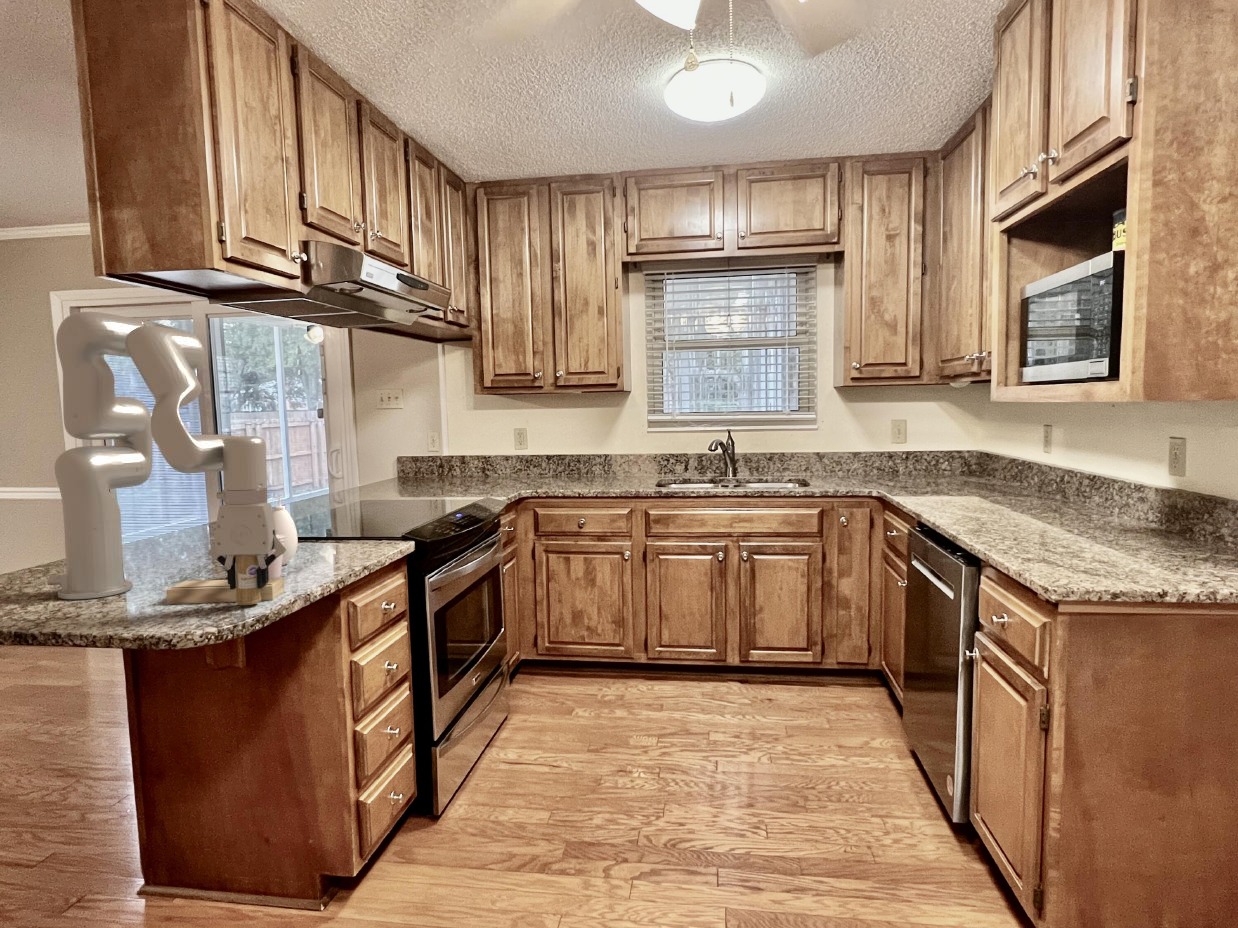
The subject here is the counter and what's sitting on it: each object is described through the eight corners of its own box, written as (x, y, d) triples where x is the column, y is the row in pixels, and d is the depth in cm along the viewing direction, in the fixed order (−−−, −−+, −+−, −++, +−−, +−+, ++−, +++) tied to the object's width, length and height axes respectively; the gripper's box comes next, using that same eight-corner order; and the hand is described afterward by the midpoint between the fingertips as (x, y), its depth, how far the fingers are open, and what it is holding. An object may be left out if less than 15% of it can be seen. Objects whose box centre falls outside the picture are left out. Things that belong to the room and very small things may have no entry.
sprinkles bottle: (246, 606, 128) (244, 539, 127) (230, 604, 130) (228, 538, 129) (267, 600, 133) (265, 535, 132) (250, 598, 134) (249, 534, 133)
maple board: (166, 604, 132) (166, 589, 131) (183, 594, 139) (183, 580, 138) (272, 600, 135) (272, 585, 135) (284, 591, 142) (283, 577, 142)
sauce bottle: (262, 569, 163) (260, 498, 162) (265, 563, 170) (263, 494, 169) (297, 566, 166) (295, 496, 165) (298, 560, 173) (297, 493, 172)
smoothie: (290, 572, 159) (288, 516, 158) (281, 579, 153) (279, 520, 152) (262, 573, 158) (260, 516, 157) (252, 580, 152) (250, 521, 151)
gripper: (190, 500, 125) (194, 593, 126) (284, 499, 128) (287, 590, 129) (208, 495, 132) (211, 584, 133) (297, 495, 135) (299, 581, 136)
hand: (248, 586), depth 131 cm, fingers closed on sprinkles bottle, 4 cm apart
